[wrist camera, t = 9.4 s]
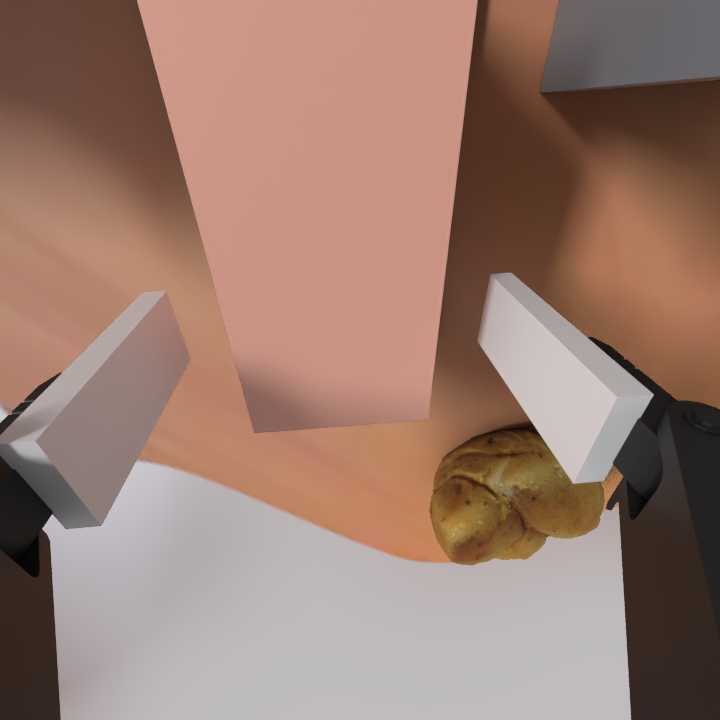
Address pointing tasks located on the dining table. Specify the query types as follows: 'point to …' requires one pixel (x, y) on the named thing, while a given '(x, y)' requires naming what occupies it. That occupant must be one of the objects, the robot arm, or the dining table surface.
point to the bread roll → (508, 498)
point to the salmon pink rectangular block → (321, 190)
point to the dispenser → (632, 44)
